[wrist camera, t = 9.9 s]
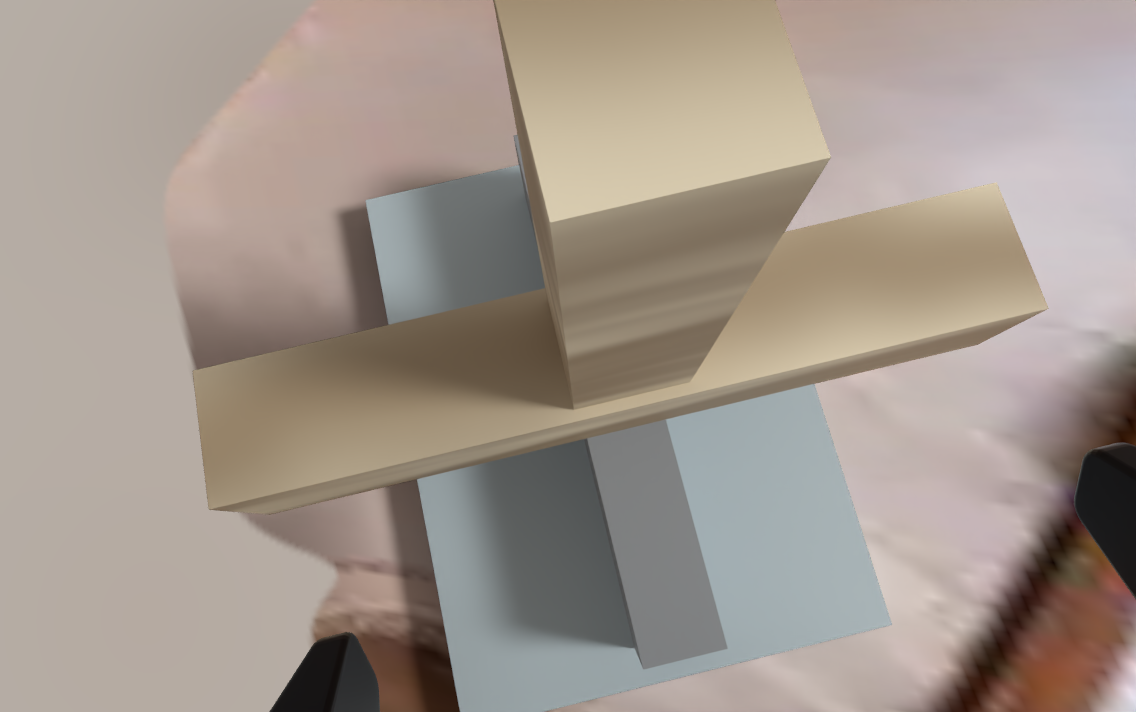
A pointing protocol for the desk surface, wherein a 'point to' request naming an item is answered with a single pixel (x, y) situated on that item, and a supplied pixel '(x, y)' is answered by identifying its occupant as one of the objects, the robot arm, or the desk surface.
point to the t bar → (627, 270)
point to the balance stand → (617, 505)
